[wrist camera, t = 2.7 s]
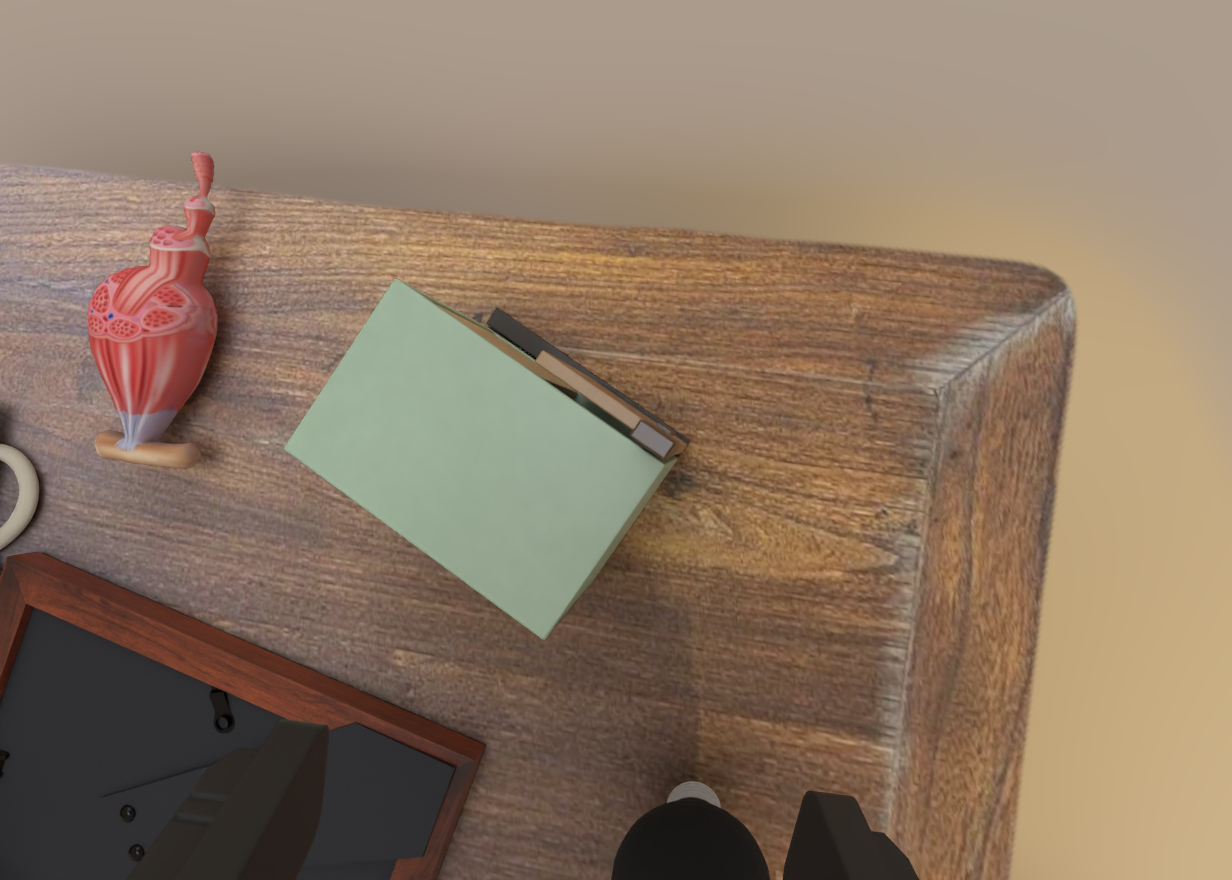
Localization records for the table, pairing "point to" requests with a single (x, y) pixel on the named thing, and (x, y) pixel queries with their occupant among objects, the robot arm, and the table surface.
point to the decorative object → (26, 494)
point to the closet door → (616, 408)
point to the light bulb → (689, 842)
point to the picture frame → (190, 737)
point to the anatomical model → (157, 335)
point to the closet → (480, 453)
